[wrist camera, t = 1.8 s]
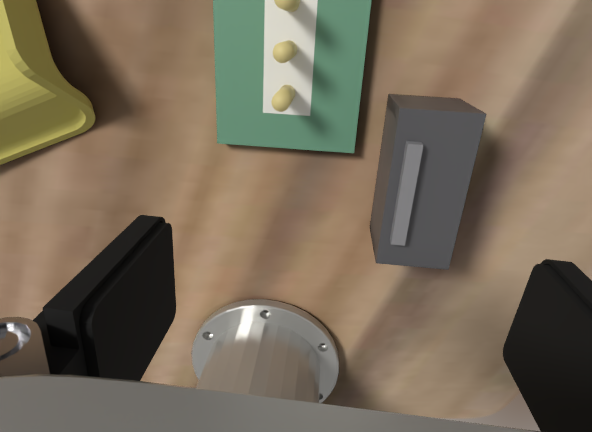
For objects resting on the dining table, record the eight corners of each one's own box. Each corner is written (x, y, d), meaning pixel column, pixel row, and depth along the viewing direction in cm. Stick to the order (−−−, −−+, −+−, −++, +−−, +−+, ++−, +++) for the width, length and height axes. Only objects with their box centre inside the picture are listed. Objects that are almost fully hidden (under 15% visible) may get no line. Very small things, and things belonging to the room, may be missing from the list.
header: (353, 149, 27) (356, 170, 23) (221, 139, 28) (201, 158, 24) (377, -65, 22) (386, -85, 18) (215, -72, 23) (189, -94, 19)
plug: (430, 232, 30) (450, 274, 24) (369, 227, 30) (376, 268, 25) (459, 98, 26) (490, 116, 21) (388, 93, 26) (401, 110, 21)
